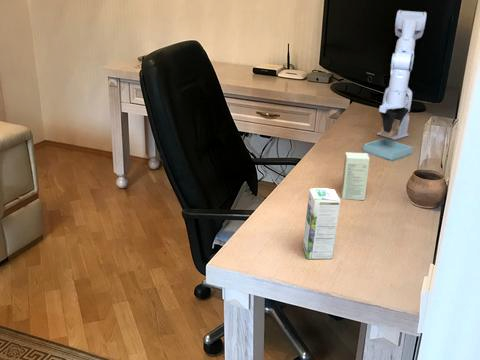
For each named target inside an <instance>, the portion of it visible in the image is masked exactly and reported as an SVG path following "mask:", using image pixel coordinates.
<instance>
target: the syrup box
mask: <svg viewBox="0 0 480 360" xmlns="http://www.w3.org/2000/svg"><path fill="white" fill-rule="evenodd" d="M340 207H341V199H340V197H339V194H338V193H337V191H336V190H335V189H333V188H320V187H317V188H310V189H309V193H308V201H307V209H306V215H305V223H304V224H305V225H304V230H303V231H304V232H303V240H302V248H303V250H304V253H305V254H304V255H305V256H306V259H307V260H332V259H333V256H334V251H335V250H334V249H335V248H334V247H335V241H336V235H337V229H338V222H339V215H340Z"/></svg>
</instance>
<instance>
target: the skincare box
mask: <svg viewBox="0 0 480 360" xmlns="http://www.w3.org/2000/svg"><path fill="white" fill-rule="evenodd" d="M344 153H345V154H344V163H343V169H342V183H341V190H340V193H341V199H342V200H357V201H360V200H361V201H365V200H366V199H365V198H366V194H367V193H366V192H367V184H368V175H369V168H370V167H369V166H370V155H369V153H367V152H365V153H364V152H347V151H345V152H344Z"/></svg>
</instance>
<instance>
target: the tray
mask: <svg viewBox="0 0 480 360" xmlns="http://www.w3.org/2000/svg"><path fill="white" fill-rule="evenodd" d="M362 151H363V153H364V152H365V153H368V154H370V155H373V156H376V157H377V158H381V159H384V160H387V161H389V162H394V161H395V162H396V161H397V160H399V159H403V158H405V157H408V156H411V155H413V151H414V147H413V146H411V145H408V144H404V143H401V142H399V141H396V140H393V139H390V138H387V137H382V138H379V139H376V140H373V141H370V142H366V143H364V144H363V147H362Z"/></svg>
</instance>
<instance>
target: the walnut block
mask: <svg viewBox="0 0 480 360" xmlns="http://www.w3.org/2000/svg"><path fill="white" fill-rule="evenodd" d="M399 124H400V120H397V119H394V122H393V125H392V129H391V131H390V132H386V131H384V127H383V120H382V122H381V129H380V132H381V134H382V135H386V136H389V137H393V136H396V135H398V130H399Z"/></svg>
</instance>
